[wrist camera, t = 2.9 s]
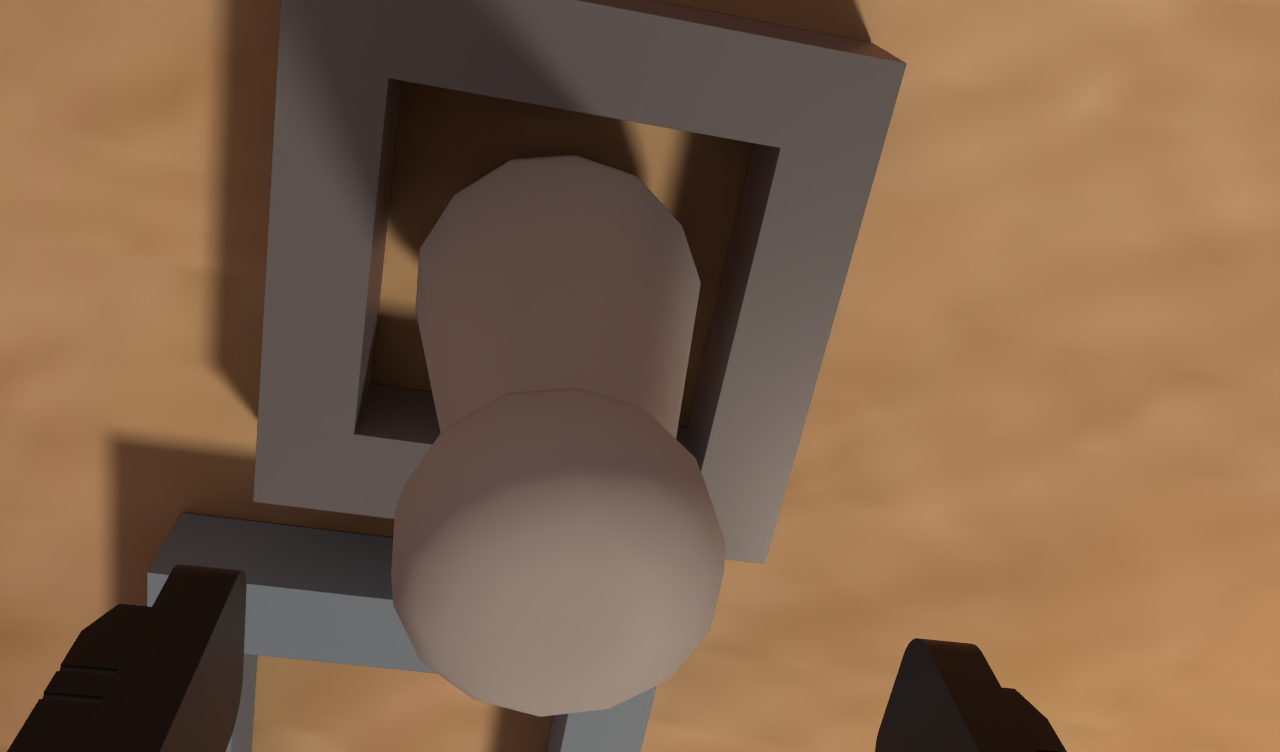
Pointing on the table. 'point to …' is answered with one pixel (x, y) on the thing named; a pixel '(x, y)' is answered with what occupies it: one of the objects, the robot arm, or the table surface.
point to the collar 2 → (340, 614)
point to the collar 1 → (588, 83)
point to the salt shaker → (556, 445)
